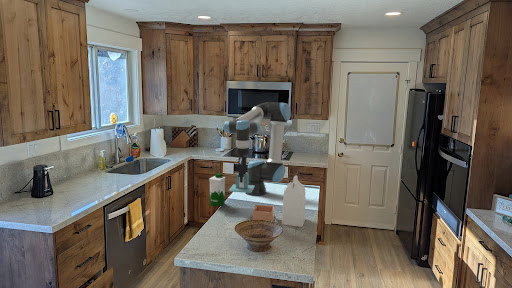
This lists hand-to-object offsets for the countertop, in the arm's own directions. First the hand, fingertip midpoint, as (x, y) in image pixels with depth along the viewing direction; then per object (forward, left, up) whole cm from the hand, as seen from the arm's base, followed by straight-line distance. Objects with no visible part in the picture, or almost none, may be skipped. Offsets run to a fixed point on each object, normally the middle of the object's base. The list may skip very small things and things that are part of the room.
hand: (242, 186), depth 206 cm
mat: (-1, -1, -17) cm, 17 cm away
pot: (+7, +14, -17) cm, 23 cm away
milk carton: (-12, -18, -17) cm, 27 cm away
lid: (0, 0, -1) cm, 1 cm away
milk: (+6, +31, -17) cm, 36 cm away
